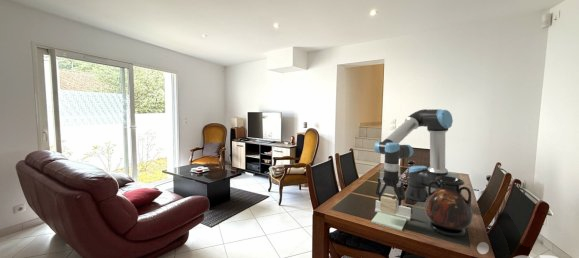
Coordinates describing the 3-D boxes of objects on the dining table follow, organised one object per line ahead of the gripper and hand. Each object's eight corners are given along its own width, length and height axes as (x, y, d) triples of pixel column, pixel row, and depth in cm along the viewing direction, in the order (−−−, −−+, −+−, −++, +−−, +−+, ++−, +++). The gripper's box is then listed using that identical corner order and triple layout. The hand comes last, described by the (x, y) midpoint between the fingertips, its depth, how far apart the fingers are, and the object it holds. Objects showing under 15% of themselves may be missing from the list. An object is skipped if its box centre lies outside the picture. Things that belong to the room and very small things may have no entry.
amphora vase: (473, 228, 127) (477, 178, 124) (469, 246, 111) (473, 189, 108) (428, 216, 141) (430, 171, 139) (418, 230, 125) (421, 179, 123)
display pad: (378, 213, 145) (378, 211, 145) (406, 220, 136) (406, 219, 136) (371, 222, 134) (371, 220, 134) (401, 231, 125) (401, 229, 125)
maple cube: (383, 206, 140) (384, 192, 139) (398, 209, 135) (399, 195, 134) (380, 210, 133) (380, 196, 133) (395, 214, 129) (396, 200, 128)
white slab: (376, 209, 150) (376, 200, 150) (410, 218, 139) (411, 208, 138) (374, 211, 148) (375, 201, 147) (409, 220, 136) (410, 209, 136)
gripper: (370, 168, 135) (369, 206, 137) (410, 174, 123) (408, 216, 125) (374, 166, 141) (372, 202, 143) (412, 171, 129) (410, 211, 131)
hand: (389, 208), depth 134 cm, fingers closed on maple cube, 8 cm apart
